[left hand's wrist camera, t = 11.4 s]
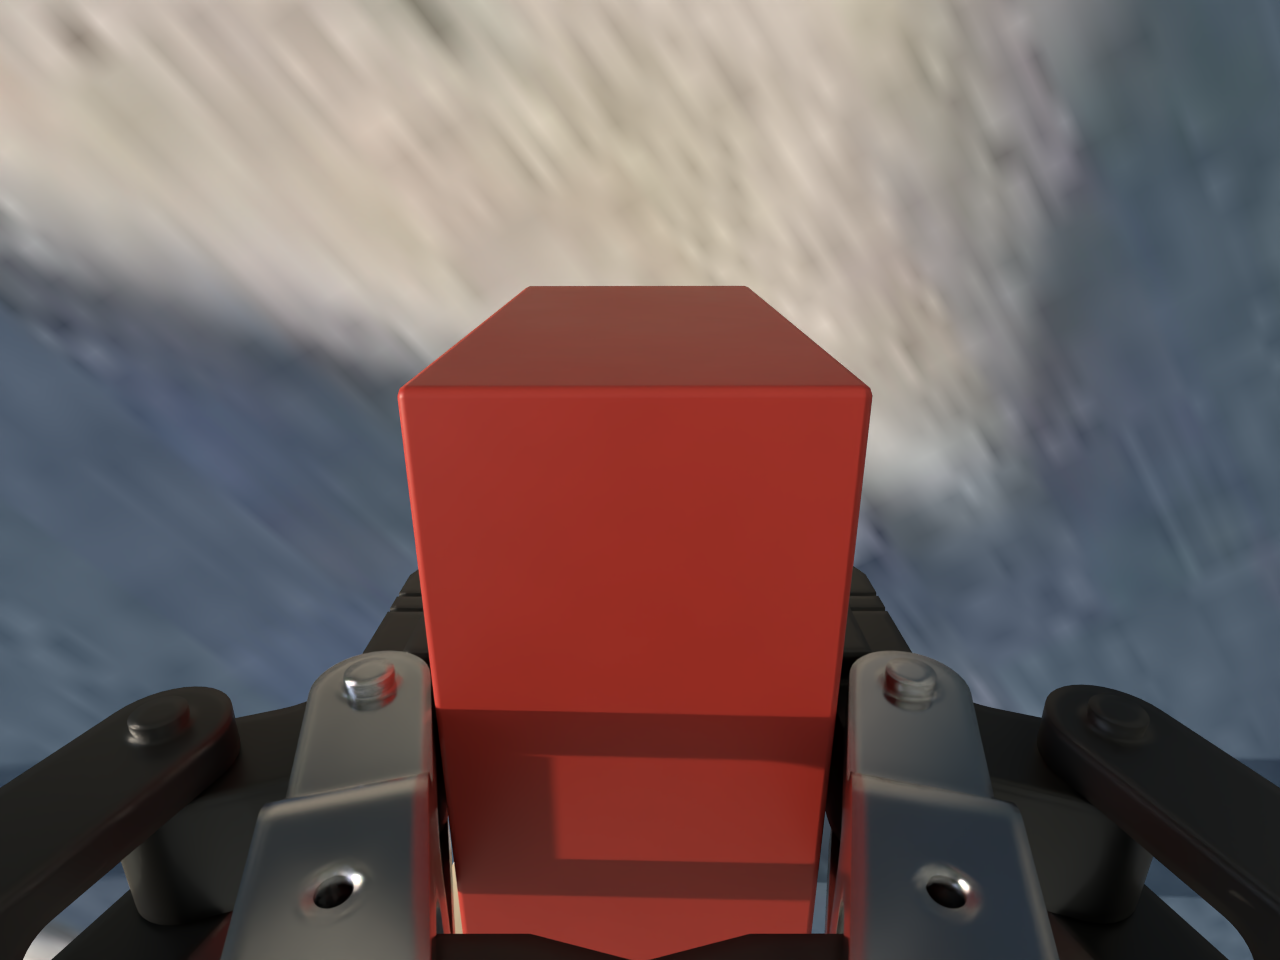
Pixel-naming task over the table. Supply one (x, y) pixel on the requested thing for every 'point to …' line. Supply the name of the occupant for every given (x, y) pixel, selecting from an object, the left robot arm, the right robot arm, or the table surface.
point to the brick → (636, 609)
